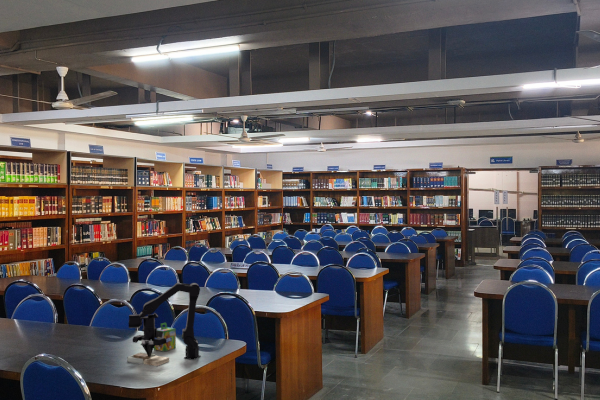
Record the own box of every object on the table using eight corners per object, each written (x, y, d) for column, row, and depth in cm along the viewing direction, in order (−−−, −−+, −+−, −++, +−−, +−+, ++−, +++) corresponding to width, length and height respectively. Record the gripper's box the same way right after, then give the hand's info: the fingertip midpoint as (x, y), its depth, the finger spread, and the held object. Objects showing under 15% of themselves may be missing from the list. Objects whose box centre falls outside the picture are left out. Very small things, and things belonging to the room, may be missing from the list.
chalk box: (164, 352, 293) (164, 325, 293) (153, 350, 298) (152, 323, 298) (176, 348, 301) (176, 322, 301) (164, 346, 306) (164, 320, 306)
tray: (155, 359, 279) (155, 354, 279) (142, 364, 270) (142, 359, 270) (140, 356, 284) (140, 352, 284) (127, 361, 275) (127, 357, 275)
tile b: (144, 358, 279) (144, 353, 279) (139, 360, 275) (139, 355, 275) (138, 357, 280) (138, 353, 280) (133, 359, 277) (133, 355, 277)
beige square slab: (169, 361, 274) (169, 357, 274) (157, 366, 266) (157, 362, 266) (155, 359, 278) (155, 355, 278) (143, 364, 270) (143, 360, 270)
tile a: (150, 359, 277) (150, 354, 277) (144, 361, 273) (144, 356, 273) (144, 358, 278) (144, 353, 278) (139, 360, 275) (139, 355, 275)
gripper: (173, 324, 278) (173, 354, 277) (146, 322, 286) (147, 350, 286) (158, 329, 268) (159, 360, 268) (131, 326, 276) (132, 356, 276)
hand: (149, 356), depth 275 cm, fingers closed
